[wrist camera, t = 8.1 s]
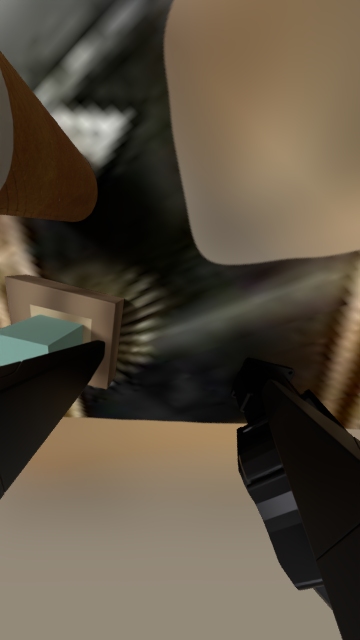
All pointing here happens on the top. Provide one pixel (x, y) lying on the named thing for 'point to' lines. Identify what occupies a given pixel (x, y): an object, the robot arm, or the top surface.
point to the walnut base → (71, 314)
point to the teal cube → (37, 338)
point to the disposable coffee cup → (39, 159)
